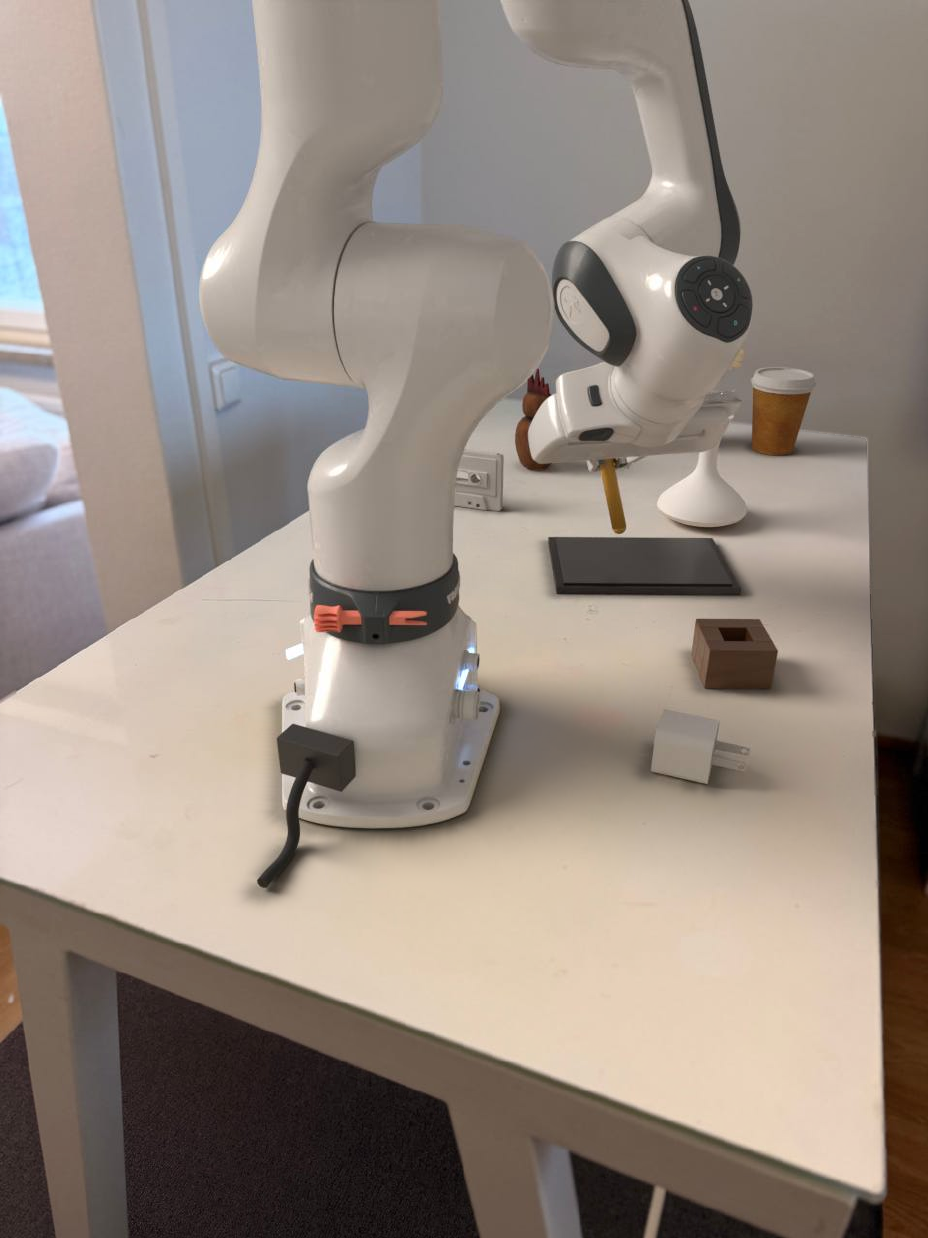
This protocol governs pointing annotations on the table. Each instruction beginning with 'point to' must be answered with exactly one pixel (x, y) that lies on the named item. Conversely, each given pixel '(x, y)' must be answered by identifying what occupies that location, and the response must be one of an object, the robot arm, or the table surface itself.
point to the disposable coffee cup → (779, 408)
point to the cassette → (480, 481)
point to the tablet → (640, 566)
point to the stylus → (613, 497)
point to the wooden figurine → (530, 420)
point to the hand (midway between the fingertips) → (606, 464)
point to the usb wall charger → (690, 747)
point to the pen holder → (733, 653)
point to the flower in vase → (704, 491)
